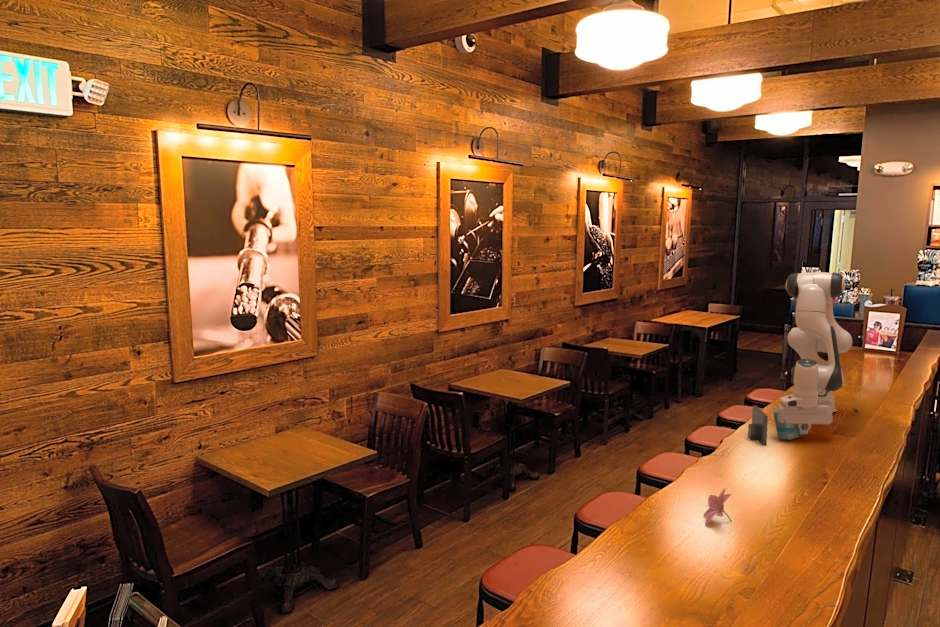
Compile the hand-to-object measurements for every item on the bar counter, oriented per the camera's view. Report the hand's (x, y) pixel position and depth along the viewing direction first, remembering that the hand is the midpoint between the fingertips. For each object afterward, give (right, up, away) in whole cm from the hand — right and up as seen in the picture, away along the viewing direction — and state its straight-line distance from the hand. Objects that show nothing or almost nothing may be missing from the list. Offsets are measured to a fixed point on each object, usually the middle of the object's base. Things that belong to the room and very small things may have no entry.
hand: (803, 434), depth 250 cm
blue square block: (-3, -2, +2) cm, 4 cm away
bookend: (-18, -3, +3) cm, 18 cm away
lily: (-60, -14, -65) cm, 90 cm away
